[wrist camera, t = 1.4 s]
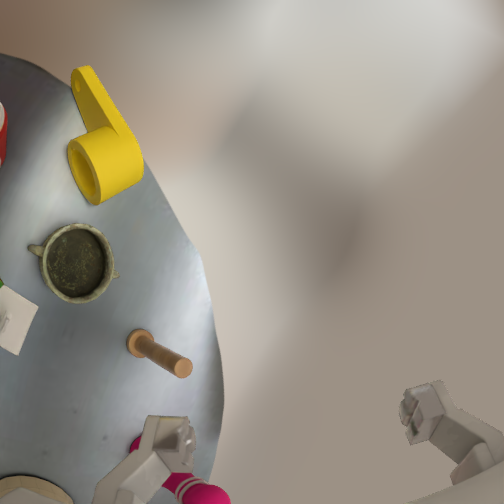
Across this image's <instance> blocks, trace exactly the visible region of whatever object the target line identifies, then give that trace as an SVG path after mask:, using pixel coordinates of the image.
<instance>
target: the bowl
mask: <svg viewBox="0 0 504 504" xmlns="http://www.w3.org/2000/svg"><path fill="white" fill-rule="evenodd" d="M18 487H22V488H26V489H29V490H31V491H34V492H36V493H39V494H41V495H44V496H46V497H49V498H52V499H55V500H58V501H61V502H64V503H67V504H74V503H73V501H72V499H71V498H70V497H69V496H68V495H67V494H66V493H65V492H64V491H63V490H62V489H61V488H59V487H57V486H55V485H54V484H52V483H50V482H48V481H45V480H42V479H39V478H36V477H28V476H13V477H6V478H4V479H1V480H0V498H1V497H2V496H4V495H5V494H7V493H9V492H10V491H12V490H14V489H16V488H18Z"/></svg>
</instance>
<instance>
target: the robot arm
mask: <svg viewBox="0 0 504 504" xmlns="http://www.w3.org/2000/svg"><path fill="white" fill-rule="evenodd" d="M403 395H404V398H405V399H404V400H403V401H401V403H400V407H399V415H400V419H401V422H402V424H403V425H405V426H407V429H406V435H407V438H408V441H409V443H410V445H413V444H417V443H420V442H423V441H427V440H429V441H430V442H431V443H432V444H433V445H435V446H436V447H437V448H438V449H440V450H441V451H442V452H443V453H445V454H446V455H447V456H448V457H450V458H451V459H452V460H453V461H455V462H456V463H457V464H458V466H457V467H456V468H455V469H454V470H453V472H452V473H451V475H450V478H451V480H452V483H453V486H451V487H449V488H446V489H444V490H441V491H439V492H436V493H434V494H431V495H428V496H426V497H423V498H420V499H417V500H414V501H411V502H408V503H405V504H504V436H503V434H502V432H501V431H499V430H497V429H496V428H494V427H492V426H490V425H489V424H487V423H485V422H483V421H481V420H480V419H478V418H476V417H475V416H473V415H471V414H469V413H468V412H466V411H464V410H463V409H457V407H456V405H455V403H454V401H453V399H452V398H451V396H450V394H449V392H448V390H447V388H446V387H445V385H444V383H443V381H441V380H437V381H434V382H431V383H426V384H423V385H420V386H416V387H413V388H409V389H406V390H405V392H404V394H403ZM189 423H190V421H189V419H188V417H178V416H154V415H148V417H147V418H146V421H145V424H144V428H143V432H142V436H141V440H140V444H139V448H138V450H134V451H133V452H131V453H130V454H129V455H128V456H127V457H126V458H125V459H124V460H123V461H122V462H121V463H119V464H118V465H117V466H116V467H115V468H114V469H113V470H112V471H111V472H109V473H108V474H107V475H106V476H105V477H104V478H103V479H102V480H100V481H99V482H98V483H97V486H96V490H95V493H94V497H93V501H92V504H147V503H148V501H149V500H150V499H151V498H152V497H153V495H154V494H155V493H156V492H157V491H158V489H159V488H160V487H161V486H162V485H163V483H164V482H165V481H166V480H167V479H168V477H169V476H170V475H171V474H172V473H171V472H177V473H192V472H193V464H194V458H193V456H192V454H191V453H192V452H193V451H194V450H195V447H196V436H195V432H194V429H193V428H192V427H191V426H189ZM0 504H67V503H64V502H61V501H58V500H55V499H52V498H49V497H46V496H44V495H41V494H39V493H36V492H34V491H31V490H29V489H26V488H22V487H18V488H16V489H14V490H12V491H10V492H9V493H7V494H5V495H4V496H2V497H1V498H0Z"/></svg>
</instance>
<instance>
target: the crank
mask: <svg viewBox="0 0 504 504" xmlns="http://www.w3.org/2000/svg"><path fill="white" fill-rule="evenodd" d="M71 87H72V91H73V94H74V97H75V100H76V102H77V105H78V108H79V110H80V113H81V115H82V118H83V121H84V123H85V126H86V128H87V131H88V133H86V134H84V135H82V136H79V137H77V138H75V139H73V140H71V141H70V142H69V144H68V160H69V165H70V168H71V171H72V174H73V177H74V179H75V181H76V183H77V185H78V187H79V189H80V190H81V192H82V194H83V195H84V196H85V198H86V199H87V200H88V201H89V202H90V203H92V204H94V205H99V204H100V203H102V202H104V201H106V200H107V199H109V198H111V197H113V196H114V195H116V194H118V193H120V192H121V191H123V190H125V189H127V188H129V187H131V186H132V185H134V184H136V183H138V182H139V181H140V180H141V179H142V176H143V172H144V164H143V157H142V153H141V150H140V147H139V145H138V142H137V140H136V138H135V136H134V135H133V133H132V132H131V130H130V129H129V127H128V125H127V124H126V122H125V121H124V119H123V118H122V116H121V114H120V113H119V111H118V110H117V108H116V106H115V105H114V103H113V102H112V100H111V98H110V97H109V95H108V94H107V92H106V90H105V89H104V87H103V86H102V84H101V82H100V81H99V79H98V77H97V76H96V74H95V72H94V71H93V69H92V68H91V67H90V66H89V65H86V66H83V67H80V68H76V69H74V70H73V72H72V74H71Z"/></svg>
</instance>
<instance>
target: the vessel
mask: <svg viewBox="0 0 504 504" xmlns="http://www.w3.org/2000/svg"><path fill="white" fill-rule="evenodd" d="M28 250H29V251H30V252H32V253H34V254H35V255H37V256H39V265H40V271H41V273H42V276H43V278H44V281H45V283H46V285H47V286H48V287H49V288H50V289H51V291H52V292H53V293H55V294H56V295H57V296H58V297H60V298H61V299H63V300H65V301H66V302H69V303H73V304H79V303H87V302H89V301H92V300H94V299H96V298H97V297H98V296H99V295H100V294H102V293H103V292H104V291H105V290H106V288H107V287H108V285H109V283H110V281H111V279H112V278H119V277H120V275H119V273H118V272H117V271H116V270H114V257H113V253H112V250H111V247H110V244H109V242H108V241H107V239H106V238H105V236H104V235H103V233H101V232H100V231H99V230H97V229H96V228H94V227H93V226H91V225H87V224H77V223H74V224H71V225H67V226H63V227H60V228H58V229H57V230H56V231H55V232H53V233H52V234H51V235H50V236H48V238H47V239H46V240H45V242H44V244H43V245H42V246H38V245H29V246H28Z"/></svg>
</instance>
